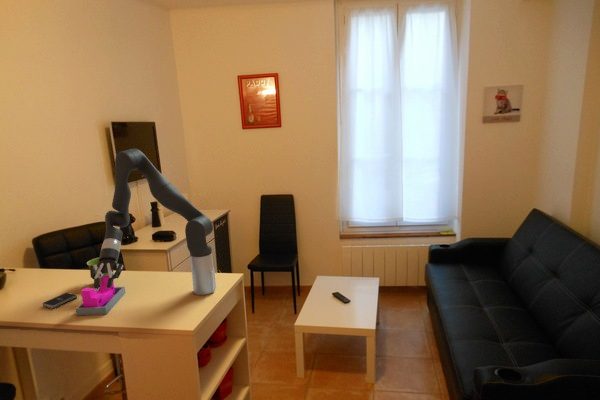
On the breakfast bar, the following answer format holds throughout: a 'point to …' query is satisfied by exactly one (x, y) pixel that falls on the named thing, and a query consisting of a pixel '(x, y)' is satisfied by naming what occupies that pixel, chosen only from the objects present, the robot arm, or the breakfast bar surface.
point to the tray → (104, 308)
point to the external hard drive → (59, 300)
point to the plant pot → (94, 262)
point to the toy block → (97, 294)
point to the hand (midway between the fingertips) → (102, 287)
